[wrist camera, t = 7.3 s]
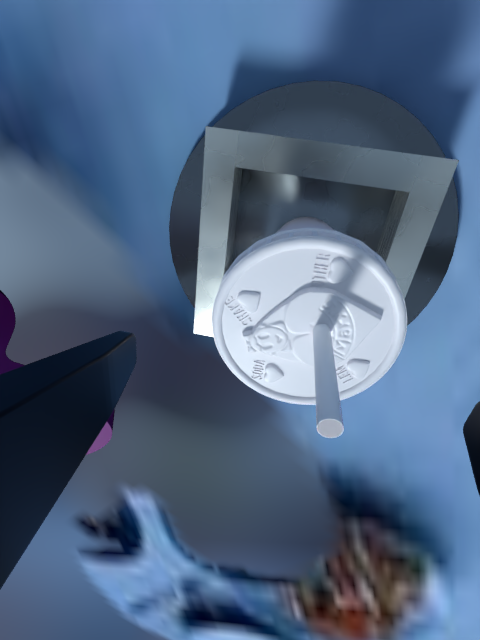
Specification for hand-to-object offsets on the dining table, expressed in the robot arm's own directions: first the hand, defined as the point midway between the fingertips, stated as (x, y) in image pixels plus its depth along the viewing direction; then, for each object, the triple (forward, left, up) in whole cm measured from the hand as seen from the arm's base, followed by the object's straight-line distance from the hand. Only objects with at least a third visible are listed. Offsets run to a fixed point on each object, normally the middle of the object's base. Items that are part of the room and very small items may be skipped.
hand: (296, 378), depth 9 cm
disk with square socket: (0, 0, -13) cm, 13 cm away
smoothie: (0, 0, -12) cm, 12 cm away
